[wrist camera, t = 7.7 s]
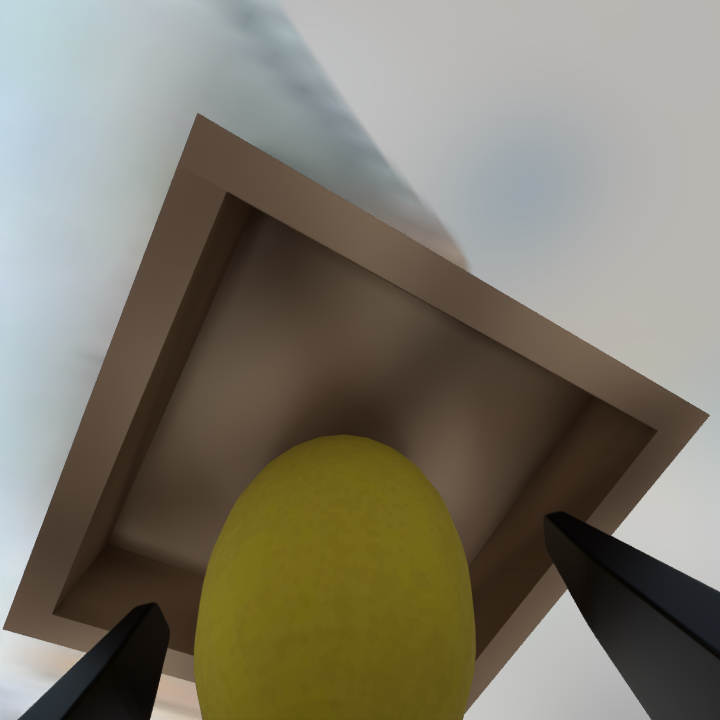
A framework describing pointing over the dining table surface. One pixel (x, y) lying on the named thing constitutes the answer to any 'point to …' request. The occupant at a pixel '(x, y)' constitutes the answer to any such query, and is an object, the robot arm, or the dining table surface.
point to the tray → (327, 406)
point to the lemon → (336, 594)
